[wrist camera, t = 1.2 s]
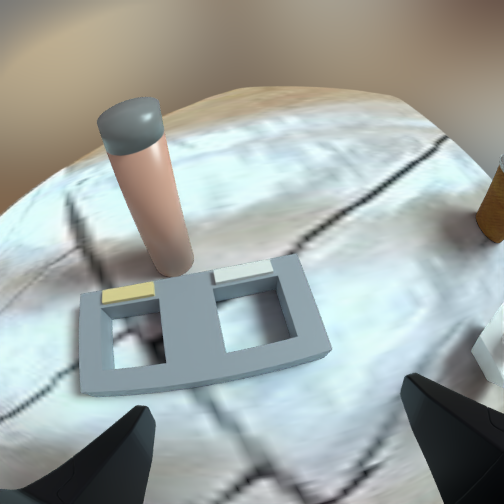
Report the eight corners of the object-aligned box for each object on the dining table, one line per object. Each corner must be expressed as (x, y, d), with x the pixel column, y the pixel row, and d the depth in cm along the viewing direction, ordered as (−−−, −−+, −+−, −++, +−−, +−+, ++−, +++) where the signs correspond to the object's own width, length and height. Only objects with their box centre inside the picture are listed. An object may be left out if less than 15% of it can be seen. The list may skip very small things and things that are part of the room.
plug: (163, 284, 26) (100, 136, 12) (149, 253, 27) (94, 113, 14) (200, 265, 27) (167, 110, 14) (184, 237, 29) (150, 91, 16)
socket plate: (95, 396, 19) (78, 391, 16) (92, 305, 24) (78, 292, 21) (324, 357, 22) (333, 347, 19) (293, 268, 27) (297, 250, 24)
